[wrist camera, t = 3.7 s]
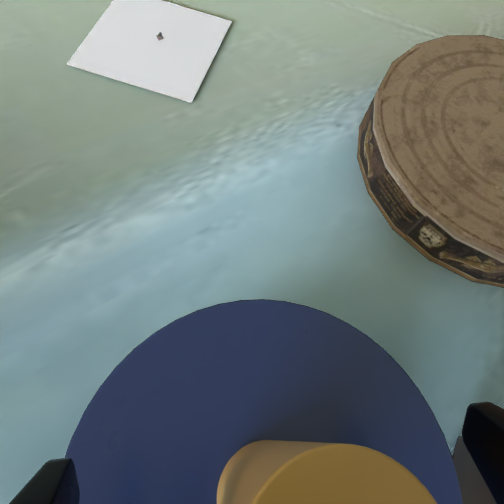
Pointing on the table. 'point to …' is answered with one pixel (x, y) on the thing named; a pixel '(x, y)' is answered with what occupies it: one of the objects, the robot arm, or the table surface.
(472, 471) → the block
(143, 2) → the coaster
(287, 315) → the lid
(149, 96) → the table surface
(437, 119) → the brown flat disc
